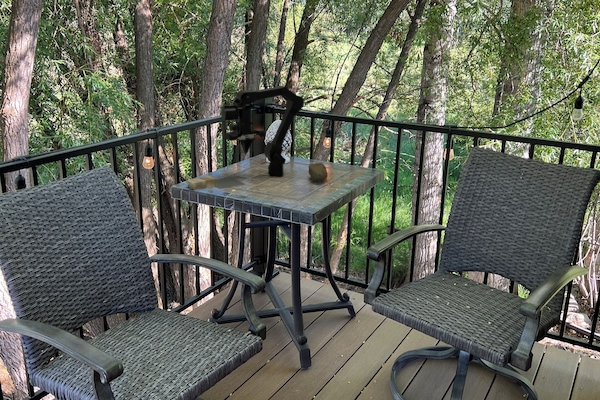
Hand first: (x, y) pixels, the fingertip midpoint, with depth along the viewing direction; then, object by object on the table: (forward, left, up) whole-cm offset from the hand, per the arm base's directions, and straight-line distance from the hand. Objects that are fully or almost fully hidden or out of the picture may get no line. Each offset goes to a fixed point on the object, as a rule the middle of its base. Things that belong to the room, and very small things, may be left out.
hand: (245, 153), depth 264 cm
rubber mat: (+8, +9, -12) cm, 17 cm away
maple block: (+12, +13, -10) cm, 20 cm away
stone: (-33, -2, -12) cm, 35 cm away
